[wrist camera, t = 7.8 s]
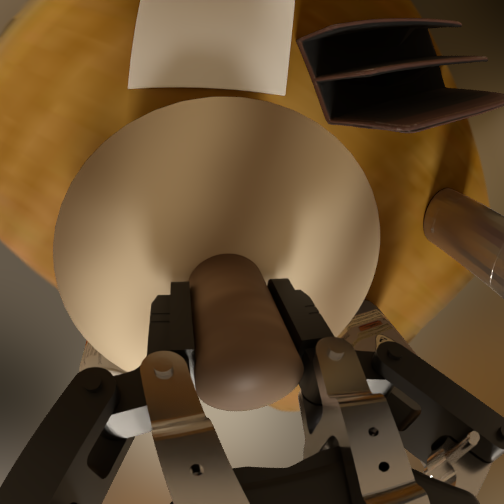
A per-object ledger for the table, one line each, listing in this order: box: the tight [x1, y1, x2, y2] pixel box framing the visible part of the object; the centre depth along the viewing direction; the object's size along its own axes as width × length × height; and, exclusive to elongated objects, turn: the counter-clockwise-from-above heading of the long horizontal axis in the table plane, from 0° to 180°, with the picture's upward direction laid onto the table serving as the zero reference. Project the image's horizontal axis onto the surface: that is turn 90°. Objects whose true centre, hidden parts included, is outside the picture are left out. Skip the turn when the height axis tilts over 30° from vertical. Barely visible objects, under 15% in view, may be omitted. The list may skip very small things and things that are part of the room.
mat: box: [128, 0, 295, 96], centre depth 20 cm, size 15×15×1 cm
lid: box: [53, 97, 380, 411], centre depth 10 cm, size 15×15×6 cm
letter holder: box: [296, 18, 504, 133], centre depth 19 cm, size 10×20×14 cm, turn 111°
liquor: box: [337, 300, 427, 468], centre depth 30 cm, size 9×9×30 cm
